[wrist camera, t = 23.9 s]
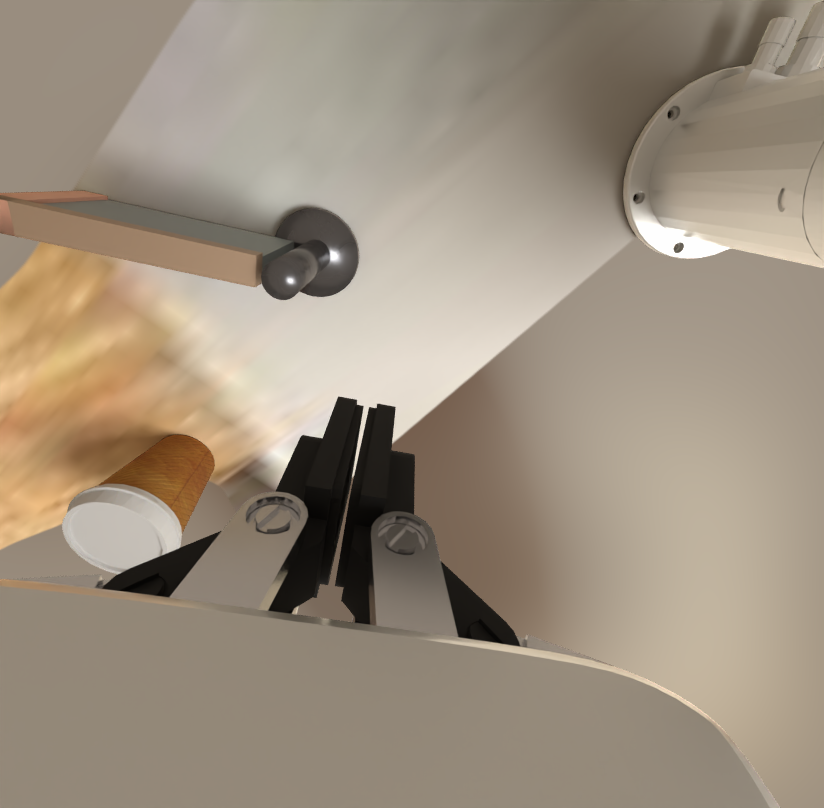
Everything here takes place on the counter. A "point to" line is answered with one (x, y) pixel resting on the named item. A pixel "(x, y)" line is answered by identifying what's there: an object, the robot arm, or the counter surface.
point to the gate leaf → (140, 234)
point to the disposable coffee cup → (140, 506)
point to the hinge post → (312, 256)
